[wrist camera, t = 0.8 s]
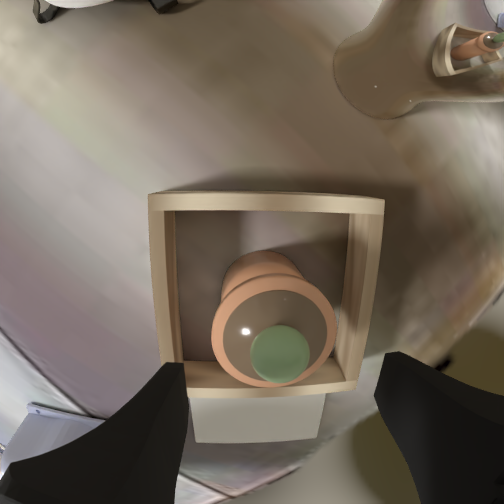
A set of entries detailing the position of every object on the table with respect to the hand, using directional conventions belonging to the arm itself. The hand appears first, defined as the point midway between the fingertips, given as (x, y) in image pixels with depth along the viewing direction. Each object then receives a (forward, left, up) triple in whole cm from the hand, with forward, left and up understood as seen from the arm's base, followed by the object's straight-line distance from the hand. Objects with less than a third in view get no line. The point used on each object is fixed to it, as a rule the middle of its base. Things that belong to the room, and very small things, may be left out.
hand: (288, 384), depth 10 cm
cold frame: (0, 0, -9) cm, 9 cm away
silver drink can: (+7, +14, -10) cm, 18 cm away
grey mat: (0, -11, -9) cm, 14 cm away
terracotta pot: (0, 0, -9) cm, 9 cm away
